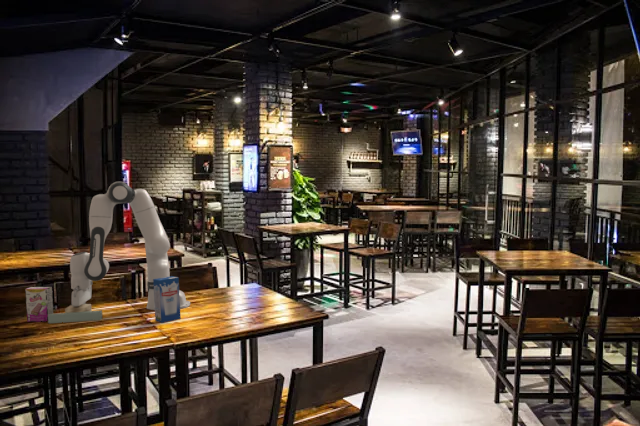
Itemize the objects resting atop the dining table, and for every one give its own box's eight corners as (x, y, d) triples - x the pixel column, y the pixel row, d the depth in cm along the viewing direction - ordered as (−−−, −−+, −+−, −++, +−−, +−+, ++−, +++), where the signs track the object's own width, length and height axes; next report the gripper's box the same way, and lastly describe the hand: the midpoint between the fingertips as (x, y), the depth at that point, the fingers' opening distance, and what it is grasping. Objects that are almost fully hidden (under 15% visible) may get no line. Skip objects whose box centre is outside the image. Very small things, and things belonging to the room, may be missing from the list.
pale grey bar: (102, 318, 264) (101, 310, 264) (100, 319, 261) (100, 311, 261) (50, 321, 261) (50, 313, 261) (48, 323, 258) (47, 315, 258)
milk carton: (174, 316, 262) (172, 276, 261) (180, 318, 258) (178, 277, 257) (155, 320, 255) (153, 279, 254) (161, 322, 251) (159, 280, 250)
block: (91, 315, 271) (91, 303, 271) (87, 319, 263) (86, 307, 263) (70, 317, 270) (70, 305, 269) (65, 320, 262) (64, 308, 261)
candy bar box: (26, 322, 262) (24, 288, 261) (33, 319, 267) (30, 286, 266) (48, 322, 261) (46, 288, 260) (54, 319, 266) (52, 286, 265)
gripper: (80, 287, 262) (82, 316, 262) (93, 280, 282) (94, 306, 283) (67, 288, 261) (68, 316, 262) (80, 281, 281) (82, 307, 282)
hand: (82, 311), depth 272 cm, fingers closed
